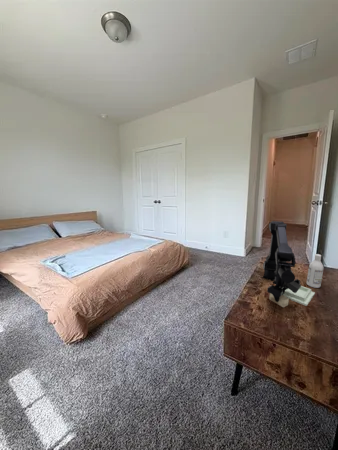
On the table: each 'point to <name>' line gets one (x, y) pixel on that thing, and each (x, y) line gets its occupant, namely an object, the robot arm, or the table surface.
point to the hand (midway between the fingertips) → (278, 299)
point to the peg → (280, 300)
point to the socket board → (300, 295)
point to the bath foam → (315, 272)
